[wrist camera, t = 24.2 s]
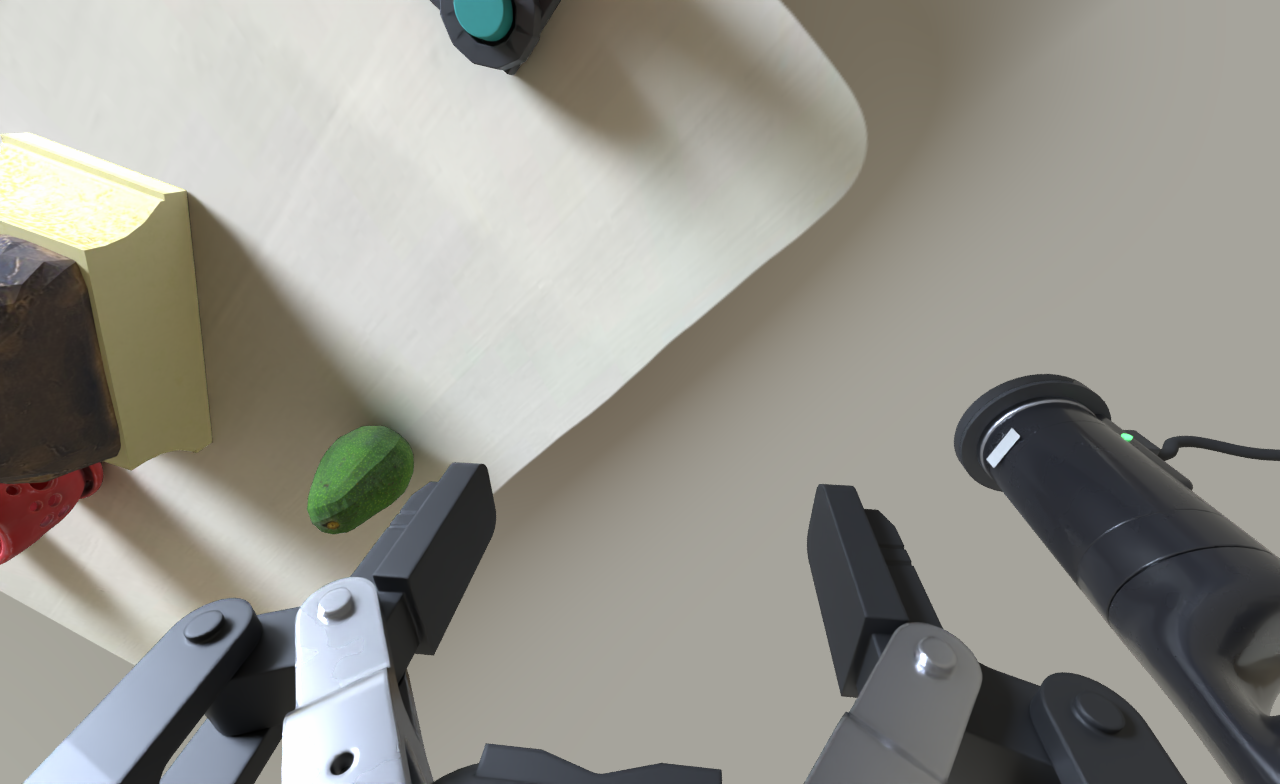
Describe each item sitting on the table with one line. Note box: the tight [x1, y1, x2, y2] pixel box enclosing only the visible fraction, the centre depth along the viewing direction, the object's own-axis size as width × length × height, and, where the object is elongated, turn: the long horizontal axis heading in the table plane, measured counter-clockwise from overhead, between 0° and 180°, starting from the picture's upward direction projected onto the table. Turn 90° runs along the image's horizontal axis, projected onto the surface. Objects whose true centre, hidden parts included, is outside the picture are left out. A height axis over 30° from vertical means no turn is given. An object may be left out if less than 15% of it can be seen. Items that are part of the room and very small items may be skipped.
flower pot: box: [0, 462, 103, 565], centre depth 55 cm, size 13×13×12 cm
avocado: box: [307, 426, 414, 534], centre depth 49 cm, size 8×8×12 cm
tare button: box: [454, 0, 513, 41], centre depth 32 cm, size 3×3×2 cm
